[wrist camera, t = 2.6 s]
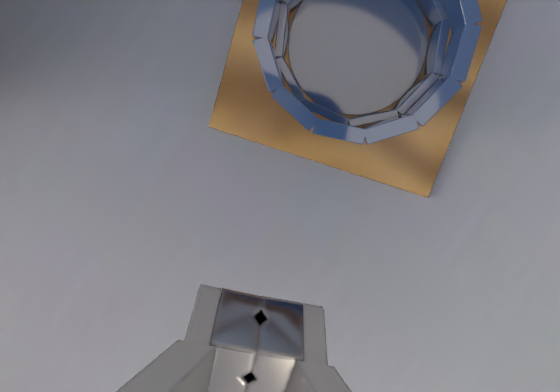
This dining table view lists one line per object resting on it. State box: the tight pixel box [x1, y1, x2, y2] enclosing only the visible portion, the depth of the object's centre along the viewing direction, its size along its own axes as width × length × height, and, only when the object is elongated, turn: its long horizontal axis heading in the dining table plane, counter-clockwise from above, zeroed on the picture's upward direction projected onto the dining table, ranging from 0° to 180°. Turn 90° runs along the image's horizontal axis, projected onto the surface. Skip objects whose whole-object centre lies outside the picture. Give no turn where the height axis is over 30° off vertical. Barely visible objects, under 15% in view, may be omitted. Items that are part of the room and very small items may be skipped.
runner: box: [209, 0, 507, 197], centre depth 32 cm, size 18×18×1 cm
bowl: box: [252, 0, 482, 145], centre depth 28 cm, size 13×13×6 cm
